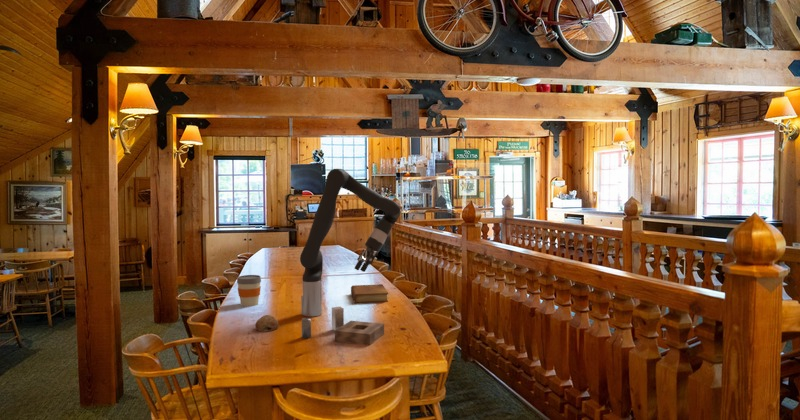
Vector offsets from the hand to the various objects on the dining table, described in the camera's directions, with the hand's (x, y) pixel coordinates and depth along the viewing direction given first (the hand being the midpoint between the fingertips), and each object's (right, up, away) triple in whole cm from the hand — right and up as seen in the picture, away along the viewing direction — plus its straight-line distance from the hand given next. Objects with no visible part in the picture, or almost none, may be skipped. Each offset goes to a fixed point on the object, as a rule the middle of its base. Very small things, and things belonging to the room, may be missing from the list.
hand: (359, 270), depth 241 cm
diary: (+1, -23, +54) cm, 59 cm away
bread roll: (-42, -26, -4) cm, 50 cm away
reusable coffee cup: (-63, -23, +41) cm, 79 cm away
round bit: (-21, -27, -18) cm, 39 cm away
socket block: (+2, -27, -19) cm, 33 cm away
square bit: (-9, -26, -8) cm, 29 cm away
